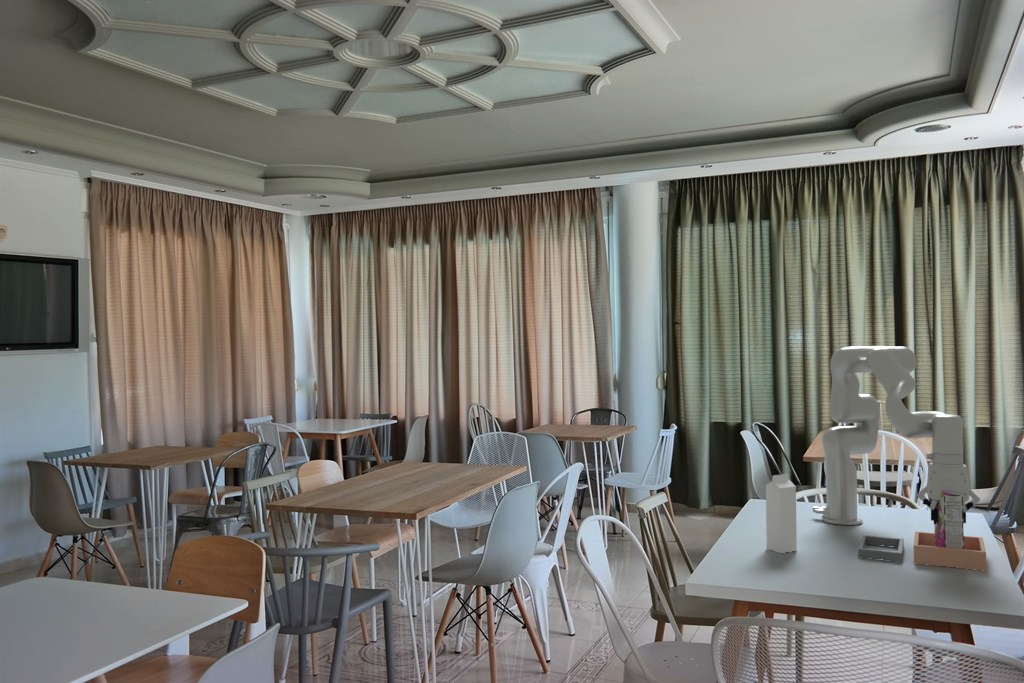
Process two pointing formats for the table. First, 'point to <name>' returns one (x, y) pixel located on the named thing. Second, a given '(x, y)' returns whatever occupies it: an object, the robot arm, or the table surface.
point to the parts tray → (880, 553)
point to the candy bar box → (950, 521)
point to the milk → (781, 514)
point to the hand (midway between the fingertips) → (948, 523)
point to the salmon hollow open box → (949, 552)
